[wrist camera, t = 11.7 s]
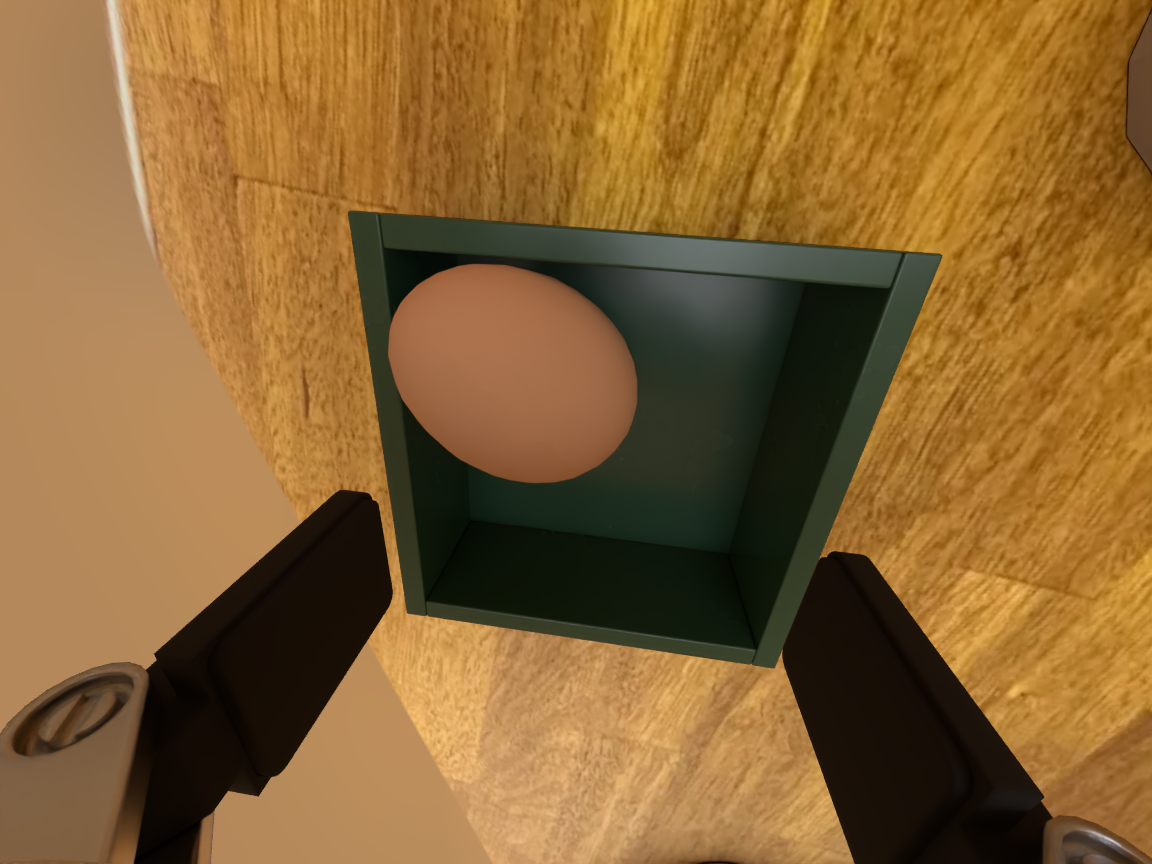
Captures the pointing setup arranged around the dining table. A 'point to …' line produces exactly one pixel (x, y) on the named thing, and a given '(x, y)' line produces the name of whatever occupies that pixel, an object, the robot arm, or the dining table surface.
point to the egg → (513, 372)
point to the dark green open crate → (652, 433)
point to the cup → (1141, 95)
